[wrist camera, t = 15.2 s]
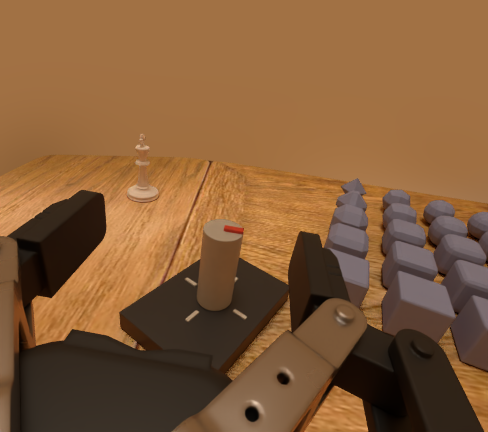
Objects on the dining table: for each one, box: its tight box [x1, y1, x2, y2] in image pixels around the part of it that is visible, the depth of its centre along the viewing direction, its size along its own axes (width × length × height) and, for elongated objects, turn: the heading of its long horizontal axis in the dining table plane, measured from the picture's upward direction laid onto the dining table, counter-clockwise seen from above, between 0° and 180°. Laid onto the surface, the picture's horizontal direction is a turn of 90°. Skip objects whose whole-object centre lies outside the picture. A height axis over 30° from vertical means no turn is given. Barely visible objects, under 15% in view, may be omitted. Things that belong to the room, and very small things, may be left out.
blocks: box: [324, 178, 488, 371], centre depth 42 cm, size 35×34×5 cm
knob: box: [197, 219, 244, 311], centre depth 27 cm, size 3×3×8 cm
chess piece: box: [127, 134, 159, 202], centre depth 47 cm, size 5×5×10 cm
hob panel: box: [119, 258, 289, 374], centre depth 30 cm, size 14×10×2 cm
